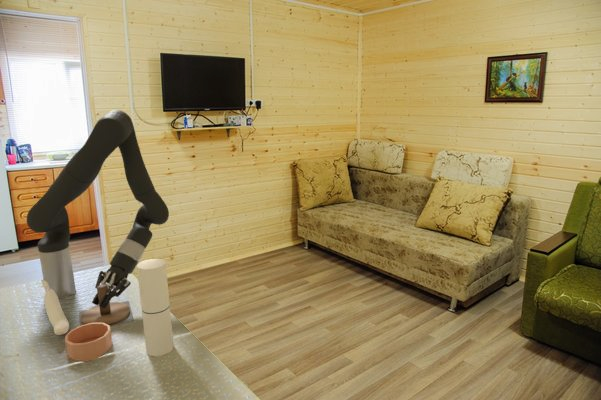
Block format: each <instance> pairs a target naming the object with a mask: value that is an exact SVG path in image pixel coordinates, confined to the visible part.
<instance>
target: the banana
mask: <svg viewBox="0 0 601 400" xmlns="http://www.w3.org/2000/svg"><path fill="white" fill-rule="evenodd" d="M40 281H41V284H42V286H41V287H42V288H44V291H45V290H46V292H45V293H44V295H43V296H44V297H43V298H44V299H43V300H44V301H43V302H44V307H45V311H46V314H47V318H48V319H49V322H50V325H52V327H53V332H54V334H55V335H56V336H61V335H64V334H65V335H66V333H67V334H68V331H69V328H70V323H69V321H68V319H67V317H66V315H65V313H64V310H63V309H62V305H61V302H60V300H59V299H60V298H58V297H57V295H56V293H55V292H54V290H52V289H51V288H50V287H49V285H48V282H46V281H45V280H43V279H41V280H40Z"/></svg>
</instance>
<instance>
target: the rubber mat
mask: <svg viewBox="0 0 601 400" xmlns="http://www.w3.org/2000/svg"><path fill="white" fill-rule="evenodd" d="M120 303H125V304H127V305H128V306H129V309H130V313H129V315H128V316H127V317H126V318H125V319H123V320H122V321H120V322H118V323H115V324H113V325H110V328H111V327H114V326H118V325H123V324H126V323H132V322H135V318H134V315H133V311H132V308H131V304H130V301H129V300H127V301H121V302H120ZM87 310H88V309H85V310H80V311H78V314H79V315H78V317H79V319H78V320H79V322H78V323H79V326H81V325H83V324H82V323H81V316H82V314H83V313H84V312H85V311H87Z"/></svg>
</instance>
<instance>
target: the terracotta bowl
mask: <svg viewBox="0 0 601 400" xmlns="http://www.w3.org/2000/svg"><path fill="white" fill-rule="evenodd" d="M64 343H65V348H66V354H67V355H66V356H67V358H69V359H71V360H73V361H76V362H77V363H78V362H84V363H85V362H88V361H92V360H96V359H99V358H100V357H102V356H104V355H105V354H106V352H108V351H109V350H110V348H111V347H112V346H113V339H112V332H111V327H110V325H108V324H105V323H89V324H85V325H81V326H80V325H79V326H77V327H74V328H73V329H71V330H70V331H69V332H67V334H65V337H64Z"/></svg>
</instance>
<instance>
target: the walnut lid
mask: <svg viewBox="0 0 601 400" xmlns="http://www.w3.org/2000/svg"><path fill="white" fill-rule="evenodd" d="M107 290H108V286H107V285H105V284H103V285H101V284H100V285H99V286H97V288H96V292H97V293H98V300H99V304H100V302H101V300H102V299H103V297H104V295H106V292H107ZM97 293H96V294H97ZM86 310H87V311H85V312H84V313H83V314H82V316H81V323H82V324H83V325H85V324H89V323H105V324H108V325H113V324H115V323H118V322H120V321H122V320H123V319H125V318H126V317H127V316H128V315H129V313H130V309H129V306H128V305H127V304H125V303H121V302H119V301H117V302H116V301H114V302H113V301H112V302H111V301H110V302H109V303H108V305H107V306H106V307H105V308H102V307H100V306H99V305H95V306H93V307H91V308H89V309H86Z"/></svg>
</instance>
